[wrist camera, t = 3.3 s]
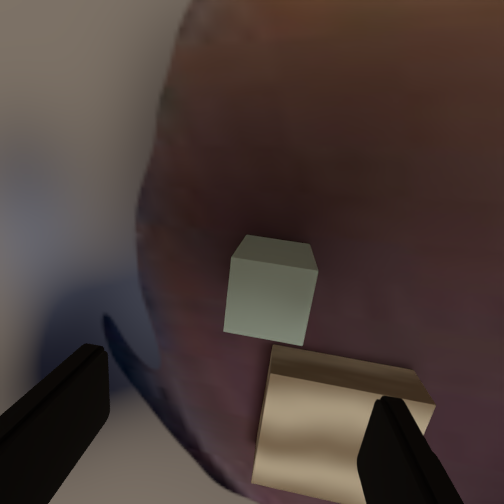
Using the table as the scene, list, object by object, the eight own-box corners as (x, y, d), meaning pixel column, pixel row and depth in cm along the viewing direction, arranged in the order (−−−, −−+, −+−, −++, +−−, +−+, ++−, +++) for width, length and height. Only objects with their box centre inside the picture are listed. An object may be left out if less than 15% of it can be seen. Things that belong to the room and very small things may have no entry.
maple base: (273, 341, 24) (270, 373, 20) (411, 366, 23) (435, 405, 19) (256, 439, 27) (251, 482, 24) (375, 465, 26) (389, 514, 23)
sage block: (246, 234, 21) (231, 257, 15) (309, 243, 21) (318, 271, 15) (239, 291, 22) (223, 331, 17) (298, 301, 22) (302, 346, 16)
